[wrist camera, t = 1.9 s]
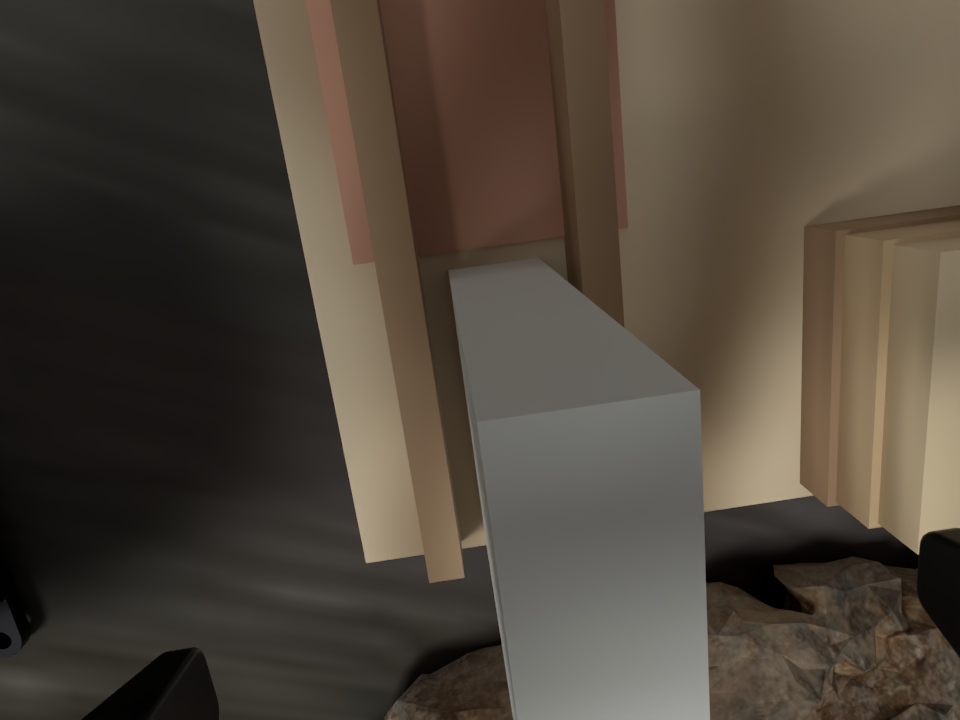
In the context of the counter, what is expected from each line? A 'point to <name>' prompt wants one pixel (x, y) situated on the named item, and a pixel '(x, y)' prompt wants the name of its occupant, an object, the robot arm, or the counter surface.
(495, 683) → the craggy brown boulder
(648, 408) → the panel
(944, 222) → the oak offcut
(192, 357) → the counter surface
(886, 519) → the pine offcut
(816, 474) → the tan wooden square tile
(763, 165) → the rack
